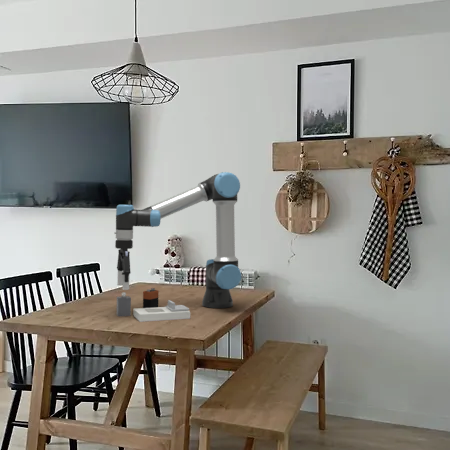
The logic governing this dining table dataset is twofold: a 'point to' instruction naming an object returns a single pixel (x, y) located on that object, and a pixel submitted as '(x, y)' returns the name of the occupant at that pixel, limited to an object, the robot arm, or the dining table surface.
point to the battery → (150, 298)
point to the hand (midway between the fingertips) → (123, 287)
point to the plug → (124, 305)
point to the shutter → (175, 306)
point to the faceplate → (159, 314)
